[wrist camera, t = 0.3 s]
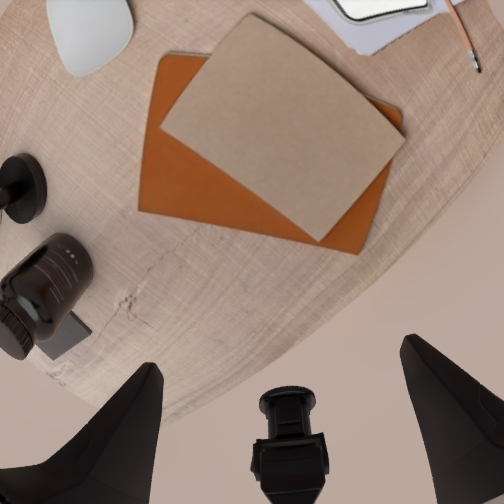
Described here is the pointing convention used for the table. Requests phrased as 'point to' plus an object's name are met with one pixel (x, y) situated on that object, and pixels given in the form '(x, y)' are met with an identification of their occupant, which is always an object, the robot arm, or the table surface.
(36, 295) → the supplement bottle
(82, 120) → the table surface
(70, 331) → the slate tile
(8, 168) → the desk lamp
